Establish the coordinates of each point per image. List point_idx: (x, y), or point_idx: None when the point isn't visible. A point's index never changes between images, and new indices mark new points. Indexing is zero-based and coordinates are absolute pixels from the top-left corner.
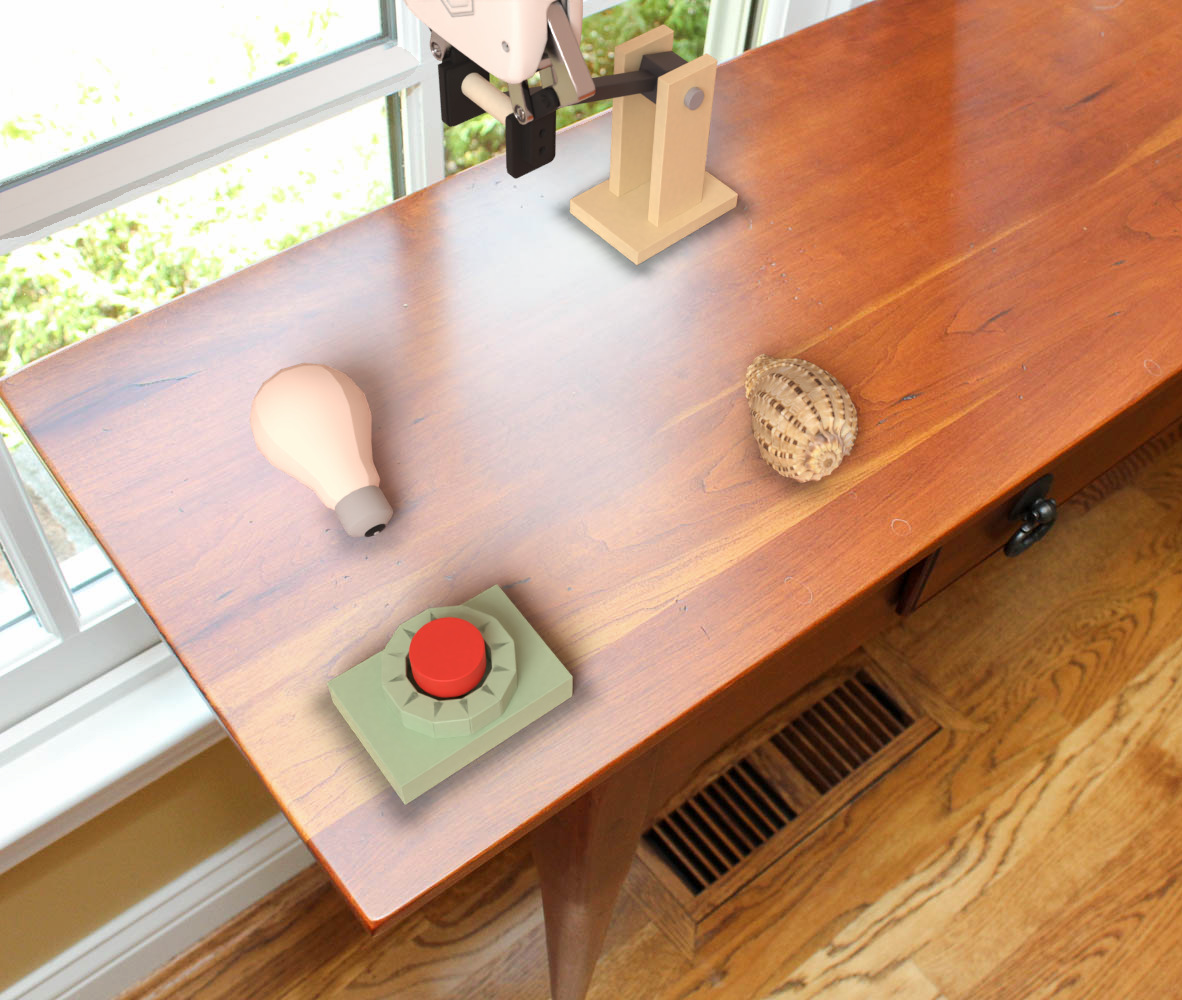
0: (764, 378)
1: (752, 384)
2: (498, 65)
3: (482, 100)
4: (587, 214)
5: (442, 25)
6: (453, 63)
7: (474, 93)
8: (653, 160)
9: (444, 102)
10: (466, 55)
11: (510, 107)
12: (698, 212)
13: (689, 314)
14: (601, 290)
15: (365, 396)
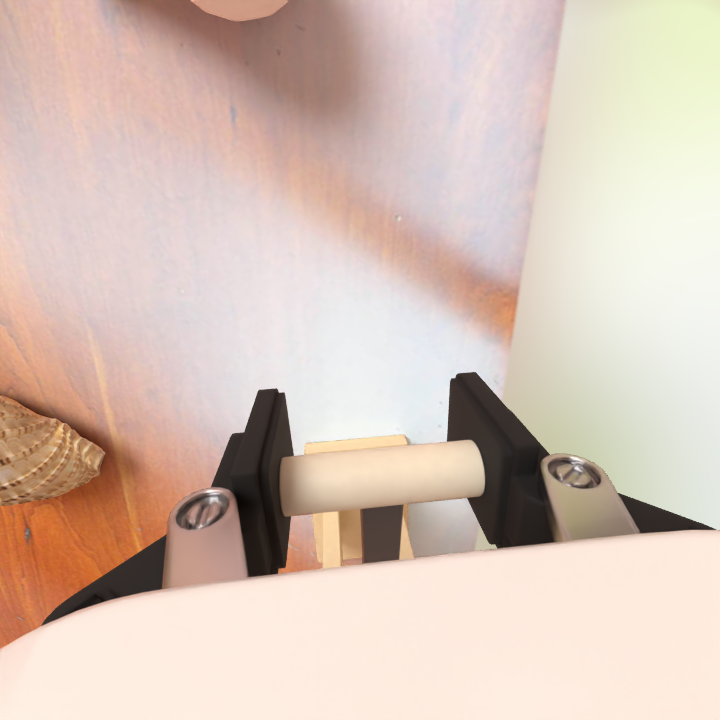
0: (21, 451)
1: (56, 437)
2: (47, 691)
3: (405, 459)
4: (380, 445)
5: (542, 619)
6: (516, 477)
7: (434, 457)
8: (337, 546)
9: (480, 395)
10: (341, 570)
11: (332, 494)
12: (317, 524)
13: (221, 445)
14: (296, 398)
15: (212, 2)
